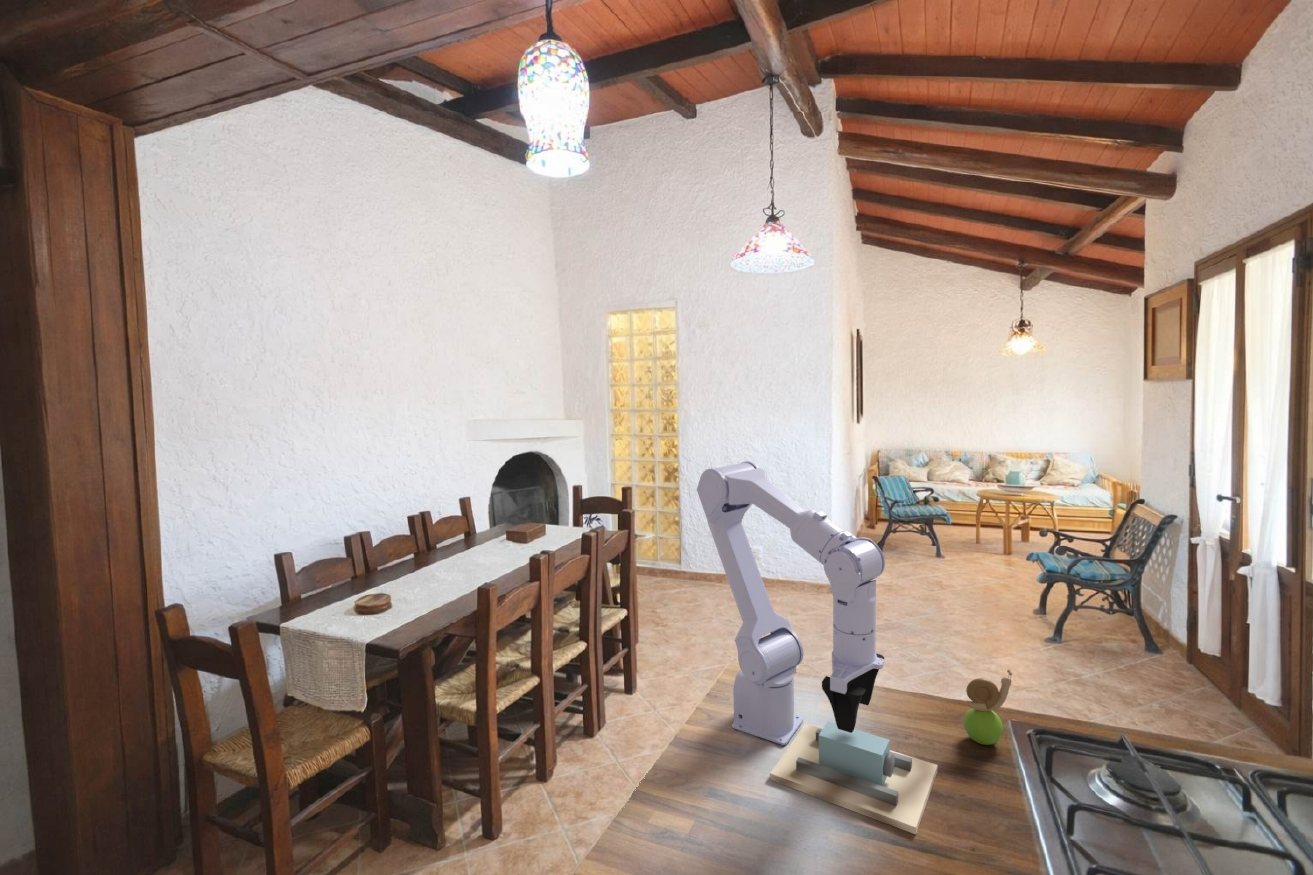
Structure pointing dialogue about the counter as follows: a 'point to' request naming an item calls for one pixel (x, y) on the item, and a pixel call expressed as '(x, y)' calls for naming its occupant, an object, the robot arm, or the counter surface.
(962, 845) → the counter surface
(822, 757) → the pale blue tall carton
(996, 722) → the snail figurine
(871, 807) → the jig board
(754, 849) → the counter surface
